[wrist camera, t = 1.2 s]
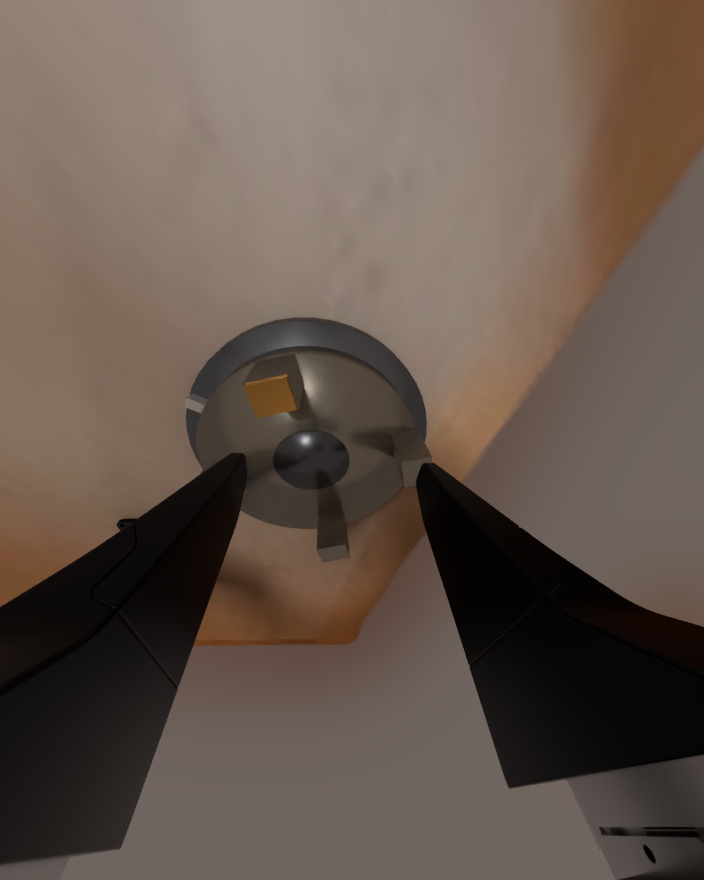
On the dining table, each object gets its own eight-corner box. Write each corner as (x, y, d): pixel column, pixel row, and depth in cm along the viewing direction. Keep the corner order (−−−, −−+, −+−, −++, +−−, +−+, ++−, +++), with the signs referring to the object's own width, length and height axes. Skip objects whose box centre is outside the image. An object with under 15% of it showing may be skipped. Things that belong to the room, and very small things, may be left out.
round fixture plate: (413, 495, 27) (433, 545, 22) (255, 525, 28) (241, 580, 23) (403, 322, 17) (433, 345, 13) (159, 373, 18) (100, 414, 13)
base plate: (399, 509, 31) (404, 524, 29) (220, 511, 28) (212, 528, 26) (449, 327, 19) (461, 334, 18) (158, 306, 17) (139, 311, 15)
